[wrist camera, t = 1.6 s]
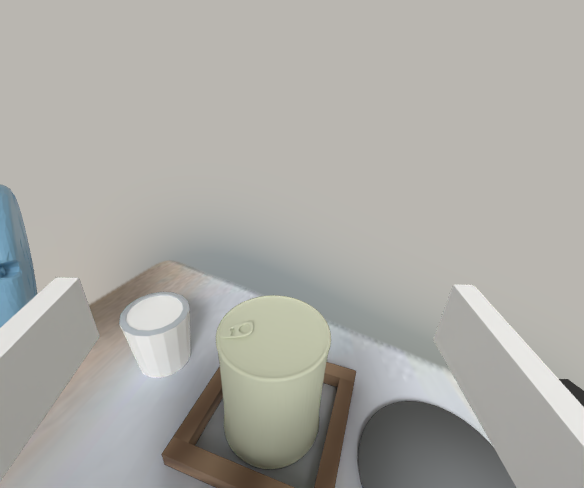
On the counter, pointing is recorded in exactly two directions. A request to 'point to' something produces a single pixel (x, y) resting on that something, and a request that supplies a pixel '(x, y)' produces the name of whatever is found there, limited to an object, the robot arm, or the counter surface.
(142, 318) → the shot glass
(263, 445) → the can
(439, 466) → the mat
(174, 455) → the pocket
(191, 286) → the counter surface
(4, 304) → the robot arm
